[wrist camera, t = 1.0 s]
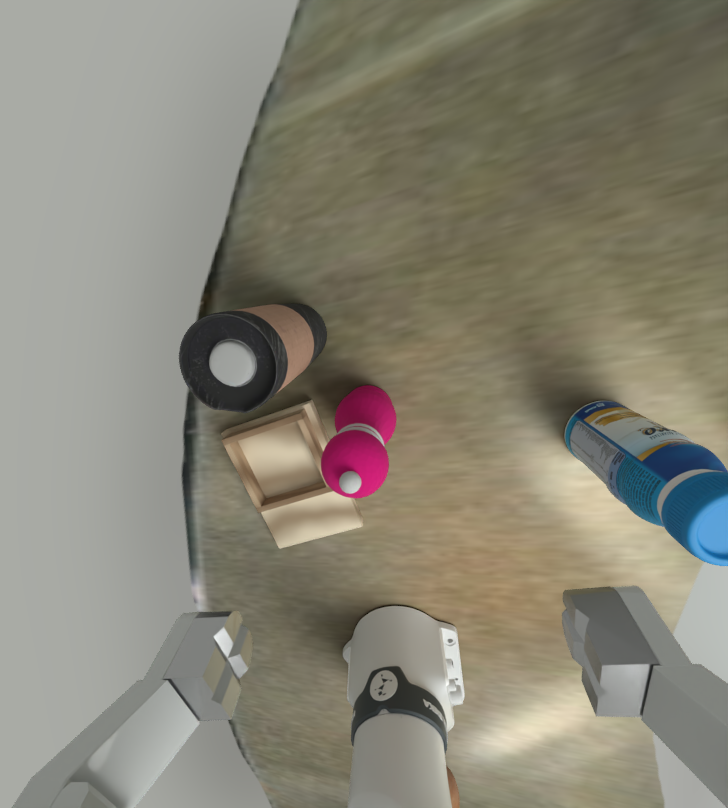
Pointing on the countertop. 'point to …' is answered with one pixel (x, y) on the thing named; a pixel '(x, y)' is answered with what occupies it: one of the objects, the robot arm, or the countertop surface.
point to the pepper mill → (359, 443)
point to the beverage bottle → (656, 475)
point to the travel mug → (249, 353)
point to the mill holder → (290, 475)
